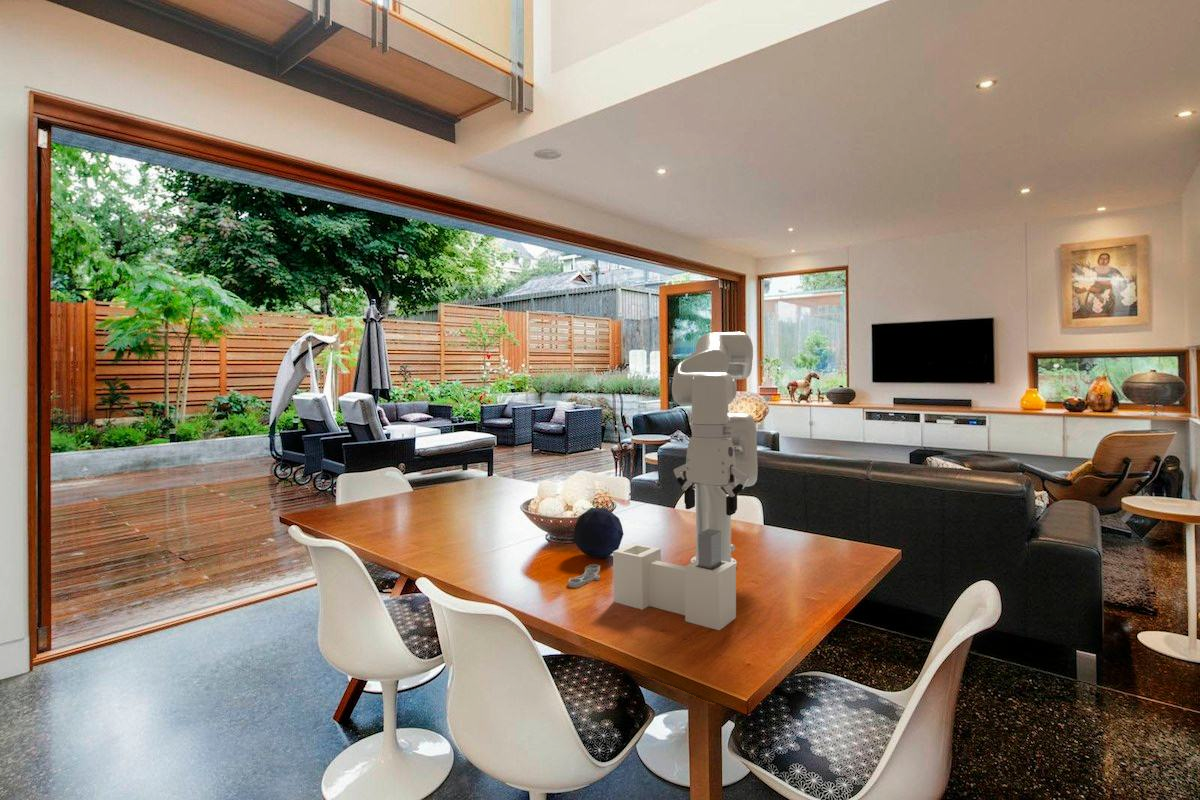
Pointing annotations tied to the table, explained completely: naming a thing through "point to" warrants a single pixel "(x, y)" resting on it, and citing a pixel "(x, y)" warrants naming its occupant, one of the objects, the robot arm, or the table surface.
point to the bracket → (585, 576)
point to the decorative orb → (598, 533)
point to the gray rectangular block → (709, 549)
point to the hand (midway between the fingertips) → (710, 511)
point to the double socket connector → (675, 586)
